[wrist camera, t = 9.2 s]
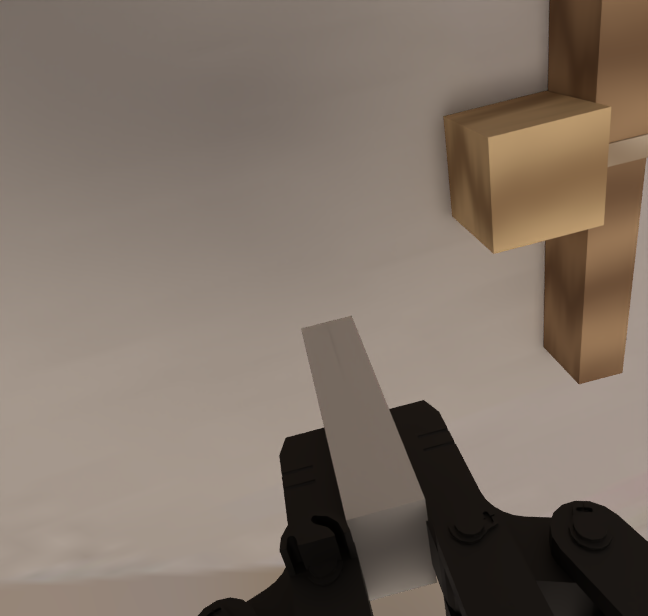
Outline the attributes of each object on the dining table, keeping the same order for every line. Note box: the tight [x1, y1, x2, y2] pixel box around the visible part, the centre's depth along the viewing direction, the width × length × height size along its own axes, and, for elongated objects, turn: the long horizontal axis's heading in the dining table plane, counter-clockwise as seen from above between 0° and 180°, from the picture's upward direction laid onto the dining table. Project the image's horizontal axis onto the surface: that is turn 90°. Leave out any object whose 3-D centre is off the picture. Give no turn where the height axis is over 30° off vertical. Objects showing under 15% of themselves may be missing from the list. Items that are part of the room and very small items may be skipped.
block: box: [443, 91, 611, 254], centre depth 29 cm, size 6×6×6 cm
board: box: [544, 0, 648, 384], centre depth 30 cm, size 26×3×5 cm, turn 11°
